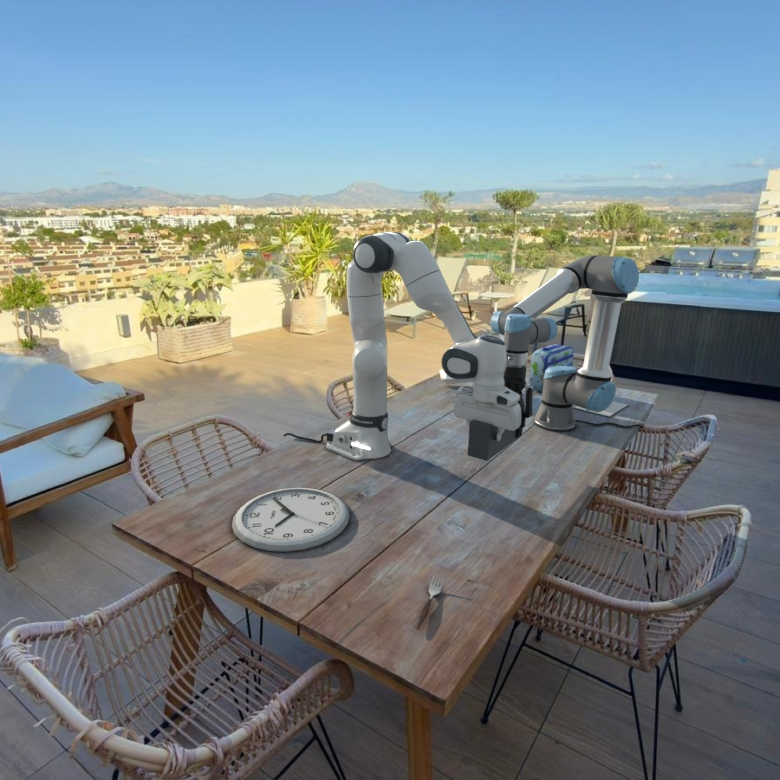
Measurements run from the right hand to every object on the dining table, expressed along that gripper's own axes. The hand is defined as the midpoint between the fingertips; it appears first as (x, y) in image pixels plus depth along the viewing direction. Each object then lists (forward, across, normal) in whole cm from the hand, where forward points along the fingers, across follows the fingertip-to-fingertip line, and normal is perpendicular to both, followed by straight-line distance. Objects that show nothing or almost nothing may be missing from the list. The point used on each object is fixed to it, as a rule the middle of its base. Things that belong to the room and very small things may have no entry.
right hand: (508, 433), depth 169 cm
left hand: (-4, 0, -17) cm, 18 cm away
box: (+1, 0, -9) cm, 9 cm away
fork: (+10, +17, -73) cm, 76 cm away
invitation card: (+10, +9, +78) cm, 79 cm away
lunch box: (+10, -18, +88) cm, 91 cm away
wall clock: (+10, -29, -68) cm, 74 cm away
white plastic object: (+10, -42, +62) cm, 76 cm away
